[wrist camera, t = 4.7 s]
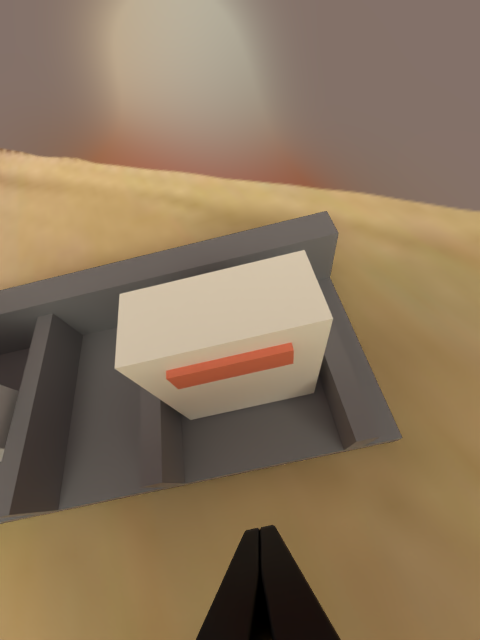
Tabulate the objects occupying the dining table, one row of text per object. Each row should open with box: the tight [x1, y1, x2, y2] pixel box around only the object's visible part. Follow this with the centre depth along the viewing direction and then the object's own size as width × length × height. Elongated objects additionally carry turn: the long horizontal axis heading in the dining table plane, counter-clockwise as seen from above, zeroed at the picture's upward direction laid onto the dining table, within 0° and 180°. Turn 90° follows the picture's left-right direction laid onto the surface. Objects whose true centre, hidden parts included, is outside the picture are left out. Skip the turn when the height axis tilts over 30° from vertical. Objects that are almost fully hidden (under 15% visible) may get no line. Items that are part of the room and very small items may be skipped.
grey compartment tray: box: [0, 211, 402, 524], centre depth 17 cm, size 13×30×5 cm, turn 100°
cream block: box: [114, 250, 333, 420], centre depth 13 cm, size 3×7×8 cm, turn 100°
